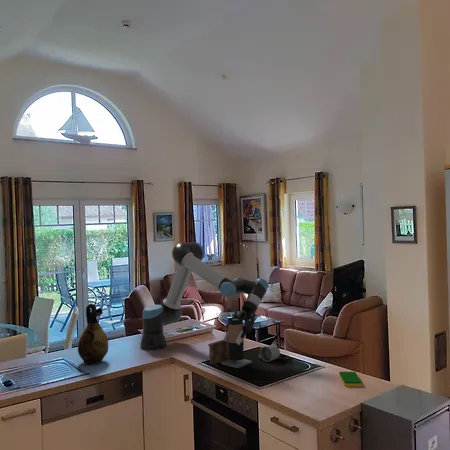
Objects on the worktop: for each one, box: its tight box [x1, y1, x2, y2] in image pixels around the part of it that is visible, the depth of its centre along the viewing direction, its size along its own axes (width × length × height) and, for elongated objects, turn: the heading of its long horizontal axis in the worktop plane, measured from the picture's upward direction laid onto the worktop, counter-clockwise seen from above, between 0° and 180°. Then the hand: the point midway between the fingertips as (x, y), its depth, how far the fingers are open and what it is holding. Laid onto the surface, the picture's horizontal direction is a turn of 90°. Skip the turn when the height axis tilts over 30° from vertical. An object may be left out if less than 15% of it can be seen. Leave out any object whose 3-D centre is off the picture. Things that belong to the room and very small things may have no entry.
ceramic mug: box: [258, 344, 281, 363], centre depth 231 cm, size 11×8×8 cm
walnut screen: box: [208, 339, 229, 366], centre depth 231 cm, size 19×3×10 cm, turn 137°
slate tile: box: [220, 358, 253, 369], centre depth 225 cm, size 11×11×1 cm
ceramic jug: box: [77, 303, 109, 366], centre depth 234 cm, size 17×15×30 cm
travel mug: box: [227, 317, 245, 361], centre depth 225 cm, size 8×8×20 cm
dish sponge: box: [338, 371, 363, 388], centre depth 195 cm, size 7×14×2 cm, turn 175°
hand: (231, 341), depth 223 cm, fingers closed on travel mug, 7 cm apart
